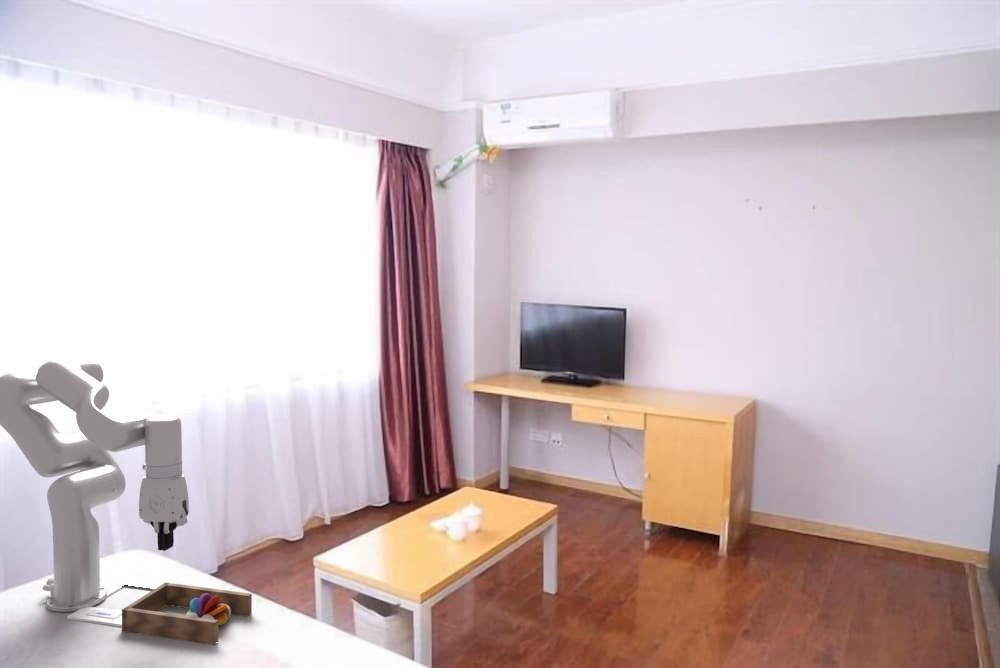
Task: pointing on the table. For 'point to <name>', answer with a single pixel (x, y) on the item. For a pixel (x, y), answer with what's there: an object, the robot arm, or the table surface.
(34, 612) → the table surface
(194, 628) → the u-shaped wooden frame
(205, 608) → the rainbow roller toy
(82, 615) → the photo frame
